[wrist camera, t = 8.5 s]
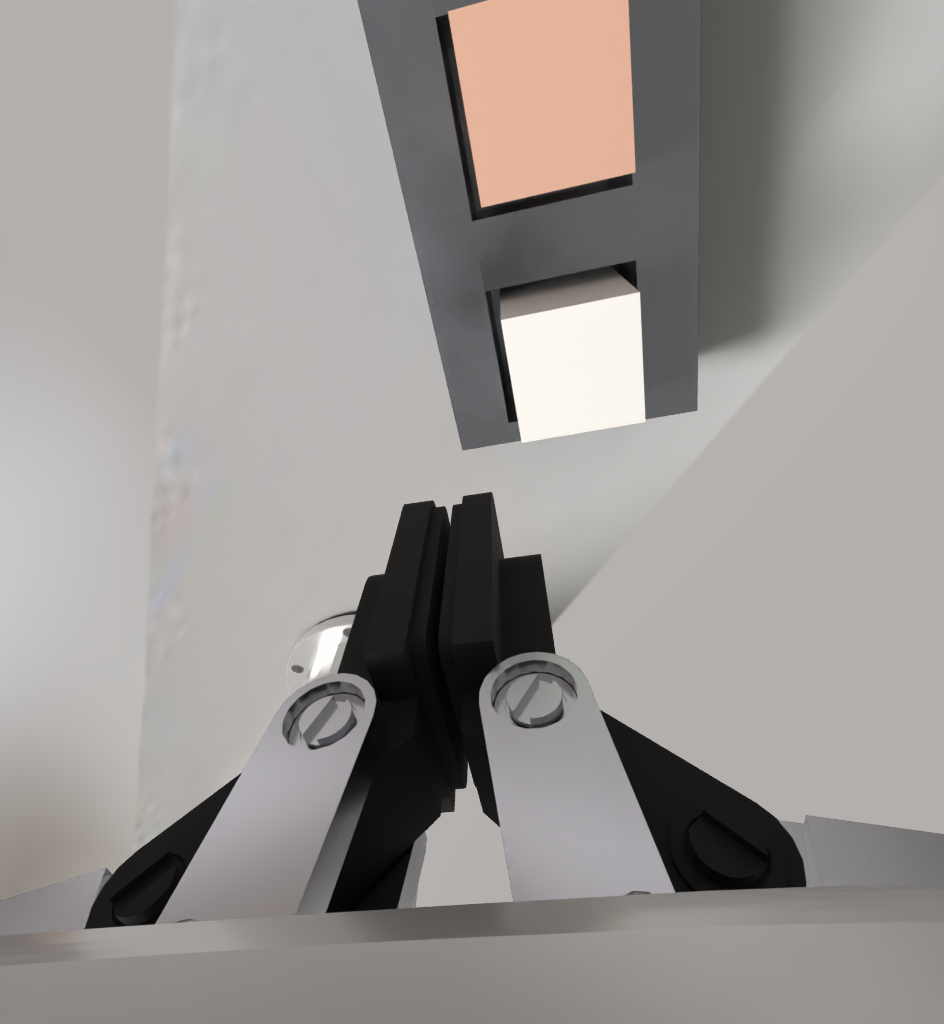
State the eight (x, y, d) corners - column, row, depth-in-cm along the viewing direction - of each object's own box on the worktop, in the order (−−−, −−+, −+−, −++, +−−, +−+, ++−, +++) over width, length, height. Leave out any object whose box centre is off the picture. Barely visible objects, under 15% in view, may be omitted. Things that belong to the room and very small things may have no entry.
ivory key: (615, 370, 26) (645, 421, 20) (516, 388, 26) (521, 442, 21) (608, 264, 23) (639, 292, 18) (499, 287, 24) (500, 320, 19)
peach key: (602, 170, 21) (635, 172, 16) (484, 198, 22) (481, 207, 17) (591, 16, 19) (626, -39, 14) (460, 51, 20) (447, 11, 15)
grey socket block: (660, 366, 28) (697, 410, 23) (468, 401, 30) (462, 450, 24) (641, -389, 16) (707, -640, 11) (322, -273, 18) (252, -450, 13)
